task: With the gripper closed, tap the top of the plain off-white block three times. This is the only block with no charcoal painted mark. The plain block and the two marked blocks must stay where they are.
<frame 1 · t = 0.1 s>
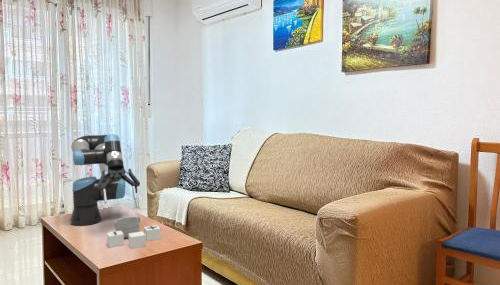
hand: (120, 200, 177), 15 cm above the table, tool tilted 35°, fingers open, 13 cm apart
marked block cross: (152, 238, 169), on the table
marked block bar: (115, 244, 162), on the table
plain block: (137, 245, 160), on the table
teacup: (130, 235, 174), on the table
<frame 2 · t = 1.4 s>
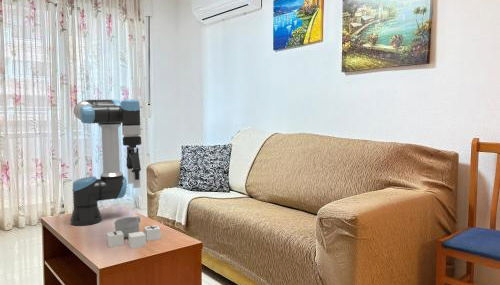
hand: (134, 185, 159), 26 cm above the table, tool pointing down, fingers open, 13 cm apart
nothing on the table moved.
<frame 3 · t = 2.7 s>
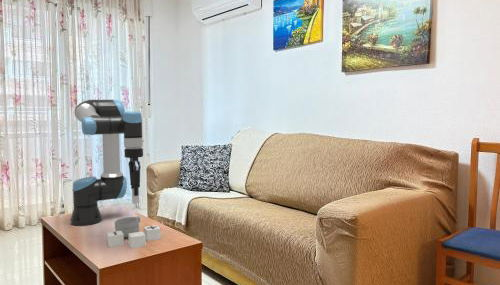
hand: (135, 202, 159), 19 cm above the table, tool pointing down, fingers closed
nothing on the table moved.
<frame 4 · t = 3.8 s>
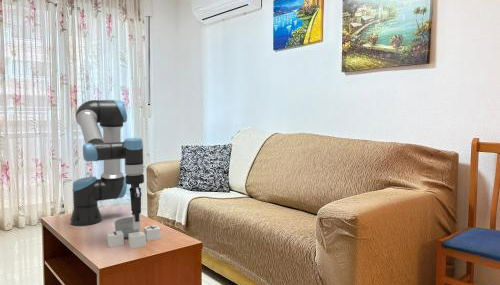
hand: (136, 228, 160), 7 cm above the table, tool pointing down, fingers closed
nothing on the table moved.
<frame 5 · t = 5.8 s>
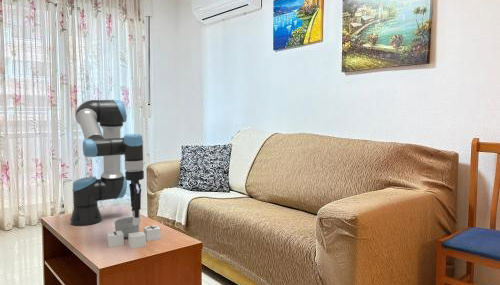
hand: (136, 224, 160), 9 cm above the table, tool pointing down, fingers closed
nothing on the table moved.
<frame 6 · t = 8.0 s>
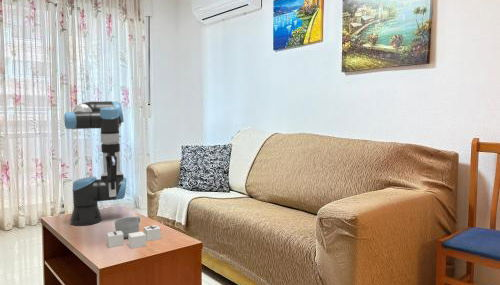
hand: (112, 196, 163), 21 cm above the table, tool pointing down, fingers closed
nothing on the table moved.
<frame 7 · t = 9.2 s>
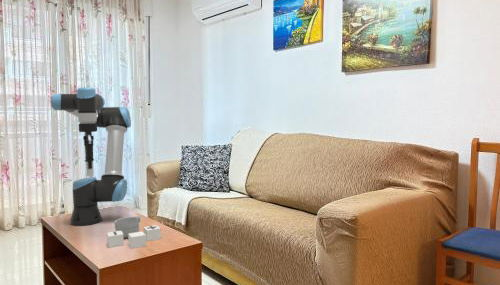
hand: (90, 175, 166), 29 cm above the table, tool pointing down, fingers closed
nothing on the table moved.
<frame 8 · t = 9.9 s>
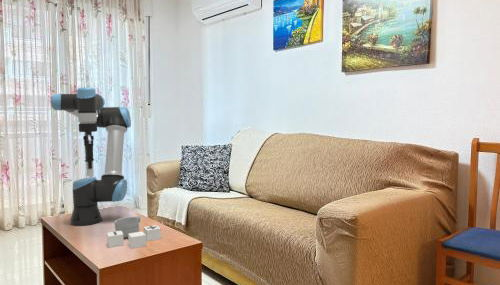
hand: (90, 175, 166), 29 cm above the table, tool pointing down, fingers closed
nothing on the table moved.
at the end: plain block moved 0.2 cm from its start; marked block bar moved 0.2 cm from its start; marked block cross moved 0.2 cm from its start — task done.
